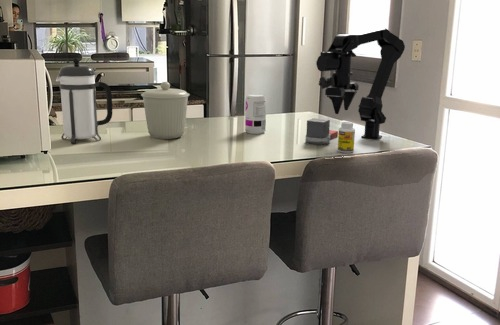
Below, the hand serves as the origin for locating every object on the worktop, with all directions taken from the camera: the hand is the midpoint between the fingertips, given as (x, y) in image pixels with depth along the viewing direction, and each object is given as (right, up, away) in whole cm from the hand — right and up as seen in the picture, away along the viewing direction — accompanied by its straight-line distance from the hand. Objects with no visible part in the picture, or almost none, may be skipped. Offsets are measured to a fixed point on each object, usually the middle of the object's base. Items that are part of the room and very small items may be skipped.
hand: (341, 112), depth 204 cm
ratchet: (-6, -10, +5) cm, 13 cm away
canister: (-66, -9, +7) cm, 67 cm away
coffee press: (-96, -10, 0) cm, 96 cm away
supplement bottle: (-1, -15, -13) cm, 20 cm away
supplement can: (-32, -7, +18) cm, 37 cm away
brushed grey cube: (-9, -9, 0) cm, 13 cm away
